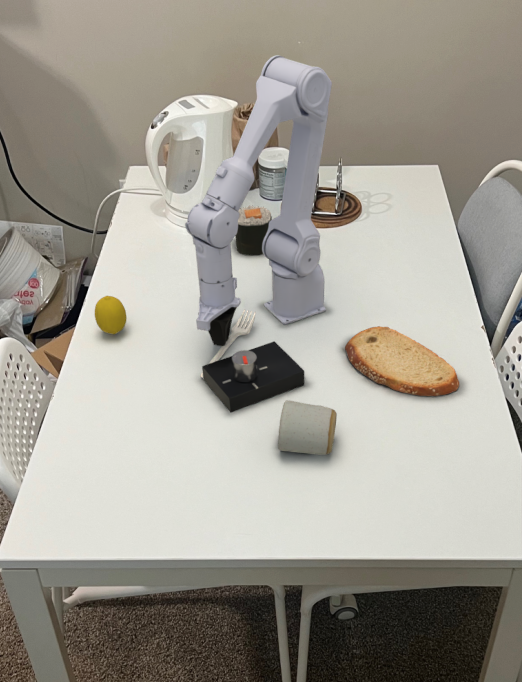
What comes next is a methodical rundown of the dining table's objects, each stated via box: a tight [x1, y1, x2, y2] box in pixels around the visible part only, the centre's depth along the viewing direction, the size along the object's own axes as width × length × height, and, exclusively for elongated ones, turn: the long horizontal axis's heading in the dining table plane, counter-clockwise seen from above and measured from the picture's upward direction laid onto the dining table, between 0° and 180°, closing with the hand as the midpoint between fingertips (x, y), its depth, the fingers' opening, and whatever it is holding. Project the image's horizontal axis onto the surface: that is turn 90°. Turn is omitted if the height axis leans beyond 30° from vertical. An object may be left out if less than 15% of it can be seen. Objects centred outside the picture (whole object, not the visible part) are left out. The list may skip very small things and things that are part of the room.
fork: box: [200, 308, 257, 379], centre depth 133 cm, size 3×20×2 cm, turn 158°
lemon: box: [94, 295, 127, 335], centre depth 135 cm, size 6×6×8 cm
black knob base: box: [201, 341, 305, 414], centre depth 125 cm, size 14×10×3 cm
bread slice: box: [344, 325, 460, 397], centre depth 128 cm, size 18×18×4 cm
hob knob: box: [231, 349, 257, 382], centre depth 122 cm, size 4×4×4 cm
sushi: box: [234, 205, 273, 256], centre depth 159 cm, size 8×8×8 cm
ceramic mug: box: [277, 399, 338, 456], centre depth 113 cm, size 11×8×8 cm
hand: (220, 342), depth 133 cm, fingers closed
